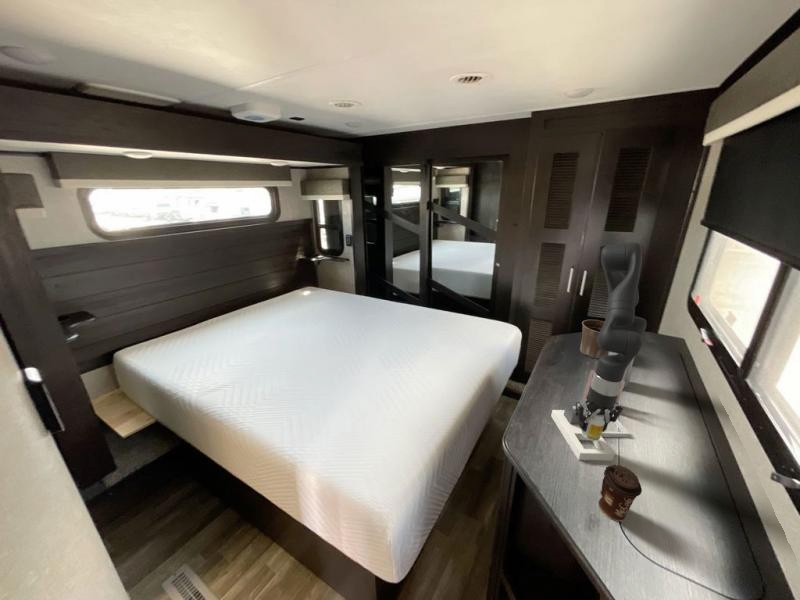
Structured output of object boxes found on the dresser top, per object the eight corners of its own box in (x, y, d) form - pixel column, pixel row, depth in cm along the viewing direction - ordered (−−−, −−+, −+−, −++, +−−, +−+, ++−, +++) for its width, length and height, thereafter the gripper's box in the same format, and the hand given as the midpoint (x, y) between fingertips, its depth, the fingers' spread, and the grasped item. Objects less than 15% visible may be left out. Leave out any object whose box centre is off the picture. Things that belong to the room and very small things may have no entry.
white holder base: (579, 416, 117) (584, 398, 114) (612, 460, 99) (619, 440, 96) (551, 416, 117) (555, 398, 114) (578, 459, 99) (584, 439, 96)
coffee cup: (586, 495, 88) (597, 462, 83) (613, 493, 88) (625, 460, 84) (608, 526, 80) (621, 492, 75) (637, 524, 80) (652, 489, 76)
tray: (608, 413, 119) (609, 410, 118) (628, 437, 108) (630, 433, 107) (578, 413, 119) (579, 410, 118) (596, 436, 108) (597, 433, 108)
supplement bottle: (577, 432, 103) (584, 409, 99) (587, 427, 105) (594, 405, 101) (592, 443, 98) (600, 420, 95) (603, 438, 100) (610, 415, 97)
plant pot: (618, 361, 154) (626, 333, 148) (586, 361, 154) (593, 333, 148) (598, 345, 169) (606, 319, 163) (569, 345, 169) (576, 319, 163)
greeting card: (581, 401, 126) (590, 370, 120) (586, 392, 131) (594, 363, 125) (614, 414, 118) (624, 382, 113) (617, 405, 124) (628, 374, 118)
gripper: (620, 380, 98) (606, 421, 104) (575, 379, 98) (564, 421, 104) (636, 396, 91) (621, 439, 97) (588, 395, 91) (575, 438, 97)
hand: (591, 429), depth 101 cm, fingers closed on supplement bottle, 5 cm apart
